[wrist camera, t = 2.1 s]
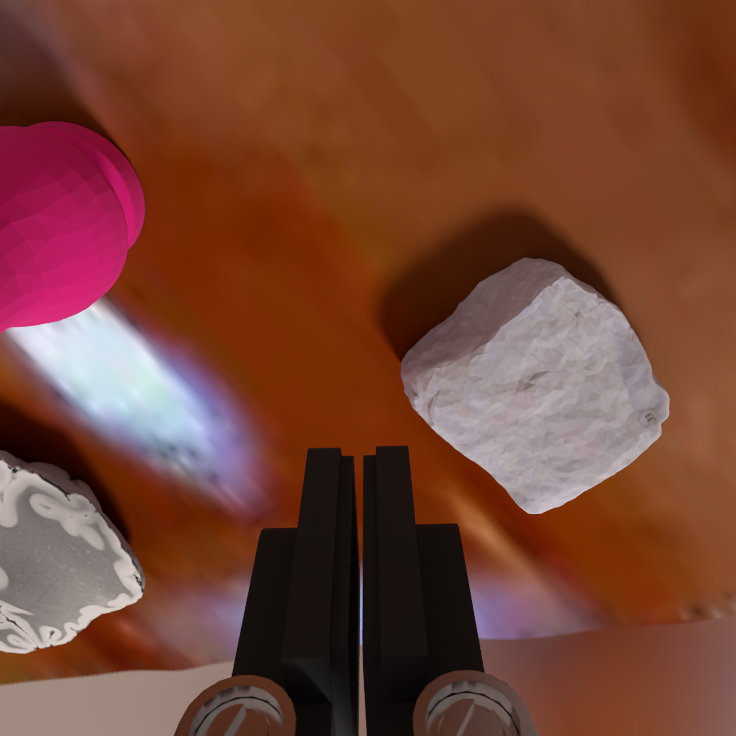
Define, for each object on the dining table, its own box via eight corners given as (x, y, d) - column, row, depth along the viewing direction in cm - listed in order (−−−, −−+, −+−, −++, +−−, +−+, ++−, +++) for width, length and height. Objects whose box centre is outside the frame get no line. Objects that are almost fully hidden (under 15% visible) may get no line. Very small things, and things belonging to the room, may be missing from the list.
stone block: (525, 221, 31) (377, 366, 33) (570, 243, 27) (397, 409, 28) (655, 370, 36) (520, 491, 37) (711, 410, 31) (556, 544, 33)
